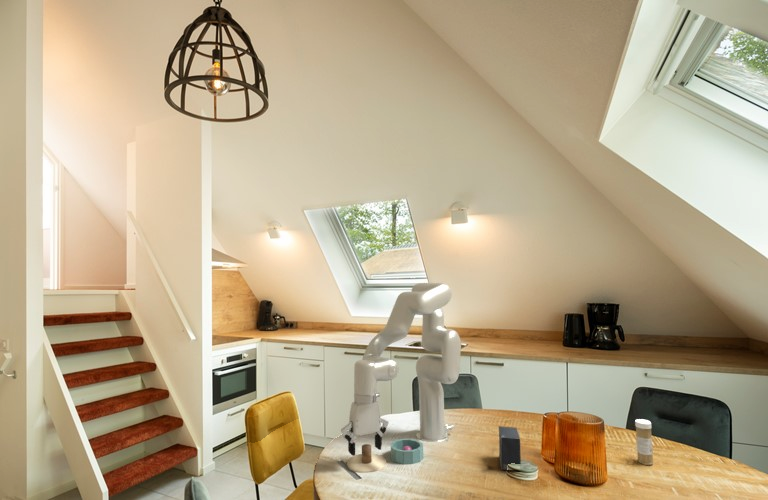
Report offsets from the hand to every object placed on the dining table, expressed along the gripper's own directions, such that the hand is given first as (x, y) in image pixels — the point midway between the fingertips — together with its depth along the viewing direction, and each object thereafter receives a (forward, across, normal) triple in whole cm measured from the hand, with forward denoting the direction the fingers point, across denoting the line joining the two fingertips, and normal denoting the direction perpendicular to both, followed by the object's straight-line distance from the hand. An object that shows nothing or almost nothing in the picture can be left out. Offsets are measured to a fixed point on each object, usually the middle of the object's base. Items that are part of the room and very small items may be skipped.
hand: (365, 451), depth 139 cm
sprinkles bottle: (+4, -80, +47) cm, 93 cm away
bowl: (+5, -15, +3) cm, 16 cm away
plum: (+4, -15, +3) cm, 15 cm away
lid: (+4, -1, 0) cm, 5 cm away
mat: (+5, -1, 0) cm, 5 cm away
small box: (+5, -42, +24) cm, 48 cm away
